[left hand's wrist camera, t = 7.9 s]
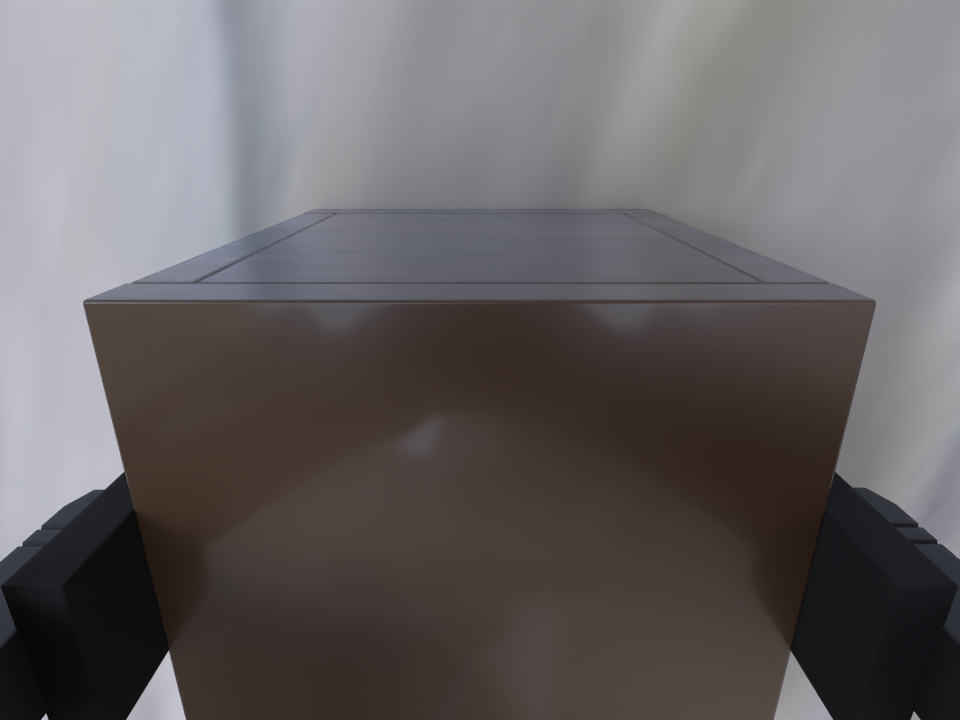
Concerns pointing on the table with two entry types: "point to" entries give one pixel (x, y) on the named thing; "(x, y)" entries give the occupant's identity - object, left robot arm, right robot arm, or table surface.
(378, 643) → the cabinet
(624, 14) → the table surface
